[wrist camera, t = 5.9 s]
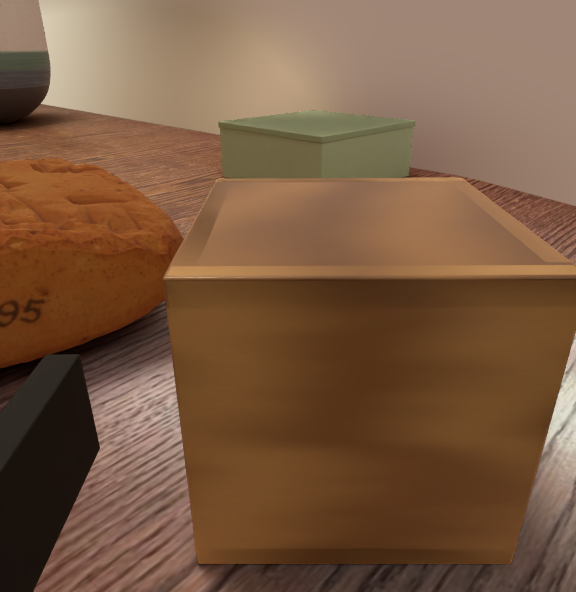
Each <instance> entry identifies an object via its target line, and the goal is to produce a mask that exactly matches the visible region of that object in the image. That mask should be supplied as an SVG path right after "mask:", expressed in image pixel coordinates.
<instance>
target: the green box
mask: <svg viewBox="0 0 576 592" xmlns="http://www.w3.org/2000/svg"><path fill="white" fill-rule="evenodd" d="M218 123H219V127H220V134H221V150H222V167H223V177H227V178H231V179H262V178H403V177H406V176H409V168H410V157H411V147H412V137H413V127H414V126H415V121H414V120H403V119H393V118H384V117H374V116H364V115H355V114H345V113H336V112H326V111H316V110H310V111H302V112H294V113H286V114H277V115H269V116H261V117H253V118H244V119H237V120H228V121H220V122H218Z"/></svg>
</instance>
